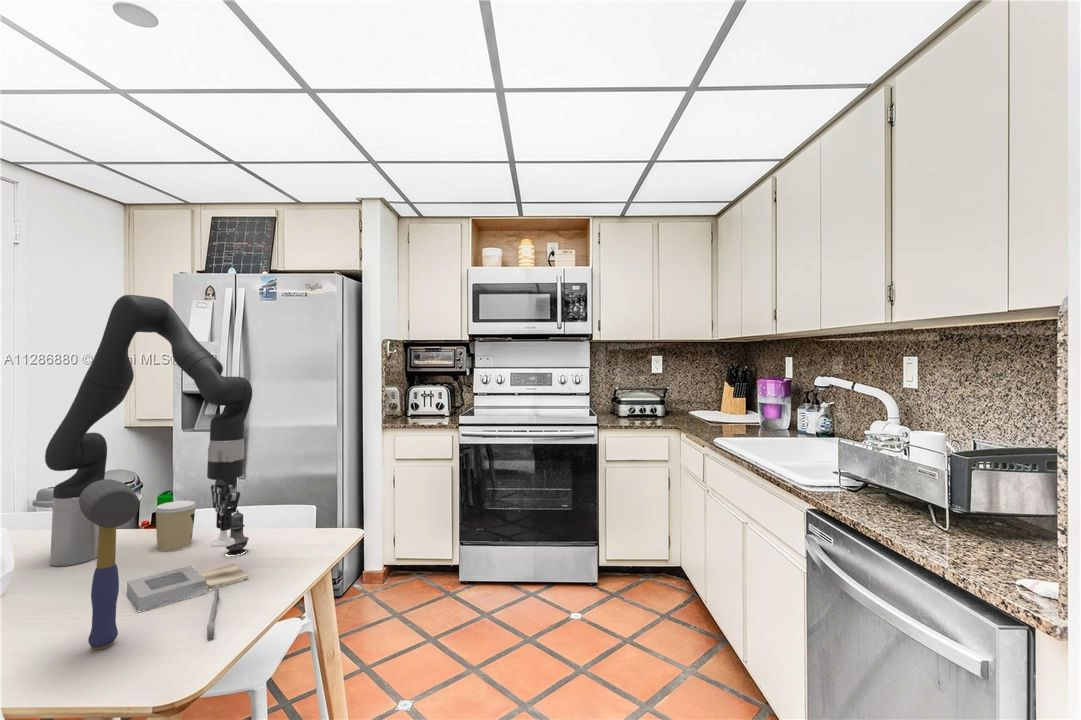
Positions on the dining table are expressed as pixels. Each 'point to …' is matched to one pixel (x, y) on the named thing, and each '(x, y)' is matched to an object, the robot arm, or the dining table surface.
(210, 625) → the combination wrench
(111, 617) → the rubber mallet
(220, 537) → the chess piece
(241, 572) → the birch pad
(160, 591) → the socket block
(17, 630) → the dining table surface
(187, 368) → the robot arm
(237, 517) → the salt shaker
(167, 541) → the coffee cup
